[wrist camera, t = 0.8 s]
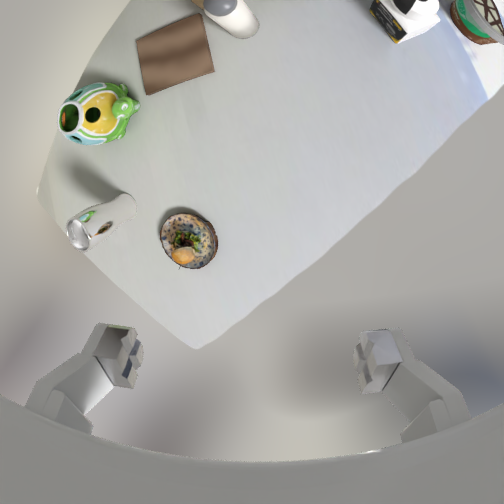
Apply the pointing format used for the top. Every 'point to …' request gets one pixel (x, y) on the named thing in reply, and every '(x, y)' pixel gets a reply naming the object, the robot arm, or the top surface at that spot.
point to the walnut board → (174, 54)
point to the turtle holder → (96, 113)
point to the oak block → (199, 3)
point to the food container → (478, 20)
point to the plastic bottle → (232, 17)
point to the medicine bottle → (405, 17)
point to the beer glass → (99, 222)
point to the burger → (189, 240)
